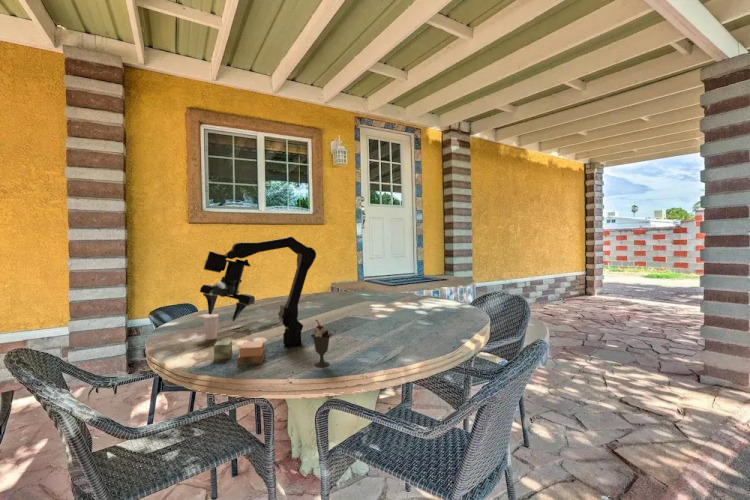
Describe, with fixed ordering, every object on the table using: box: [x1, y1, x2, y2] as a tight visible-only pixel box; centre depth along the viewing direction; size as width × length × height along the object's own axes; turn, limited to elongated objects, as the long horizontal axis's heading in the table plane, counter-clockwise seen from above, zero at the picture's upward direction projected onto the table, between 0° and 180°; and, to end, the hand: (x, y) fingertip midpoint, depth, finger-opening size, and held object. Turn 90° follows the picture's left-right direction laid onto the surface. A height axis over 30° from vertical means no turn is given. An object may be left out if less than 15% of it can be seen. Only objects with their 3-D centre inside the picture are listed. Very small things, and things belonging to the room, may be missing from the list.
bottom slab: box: [236, 348, 266, 366], centre depth 127 cm, size 8×8×3 cm
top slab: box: [239, 340, 265, 357], centre depth 127 cm, size 7×7×3 cm
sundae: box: [310, 319, 332, 368], centre depth 122 cm, size 7×7×15 cm
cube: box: [213, 340, 233, 360], centre depth 132 cm, size 5×5×5 cm
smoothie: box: [202, 310, 220, 341], centre depth 155 cm, size 6×6×14 cm
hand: (221, 317), depth 133 cm, fingers open, 9 cm apart
